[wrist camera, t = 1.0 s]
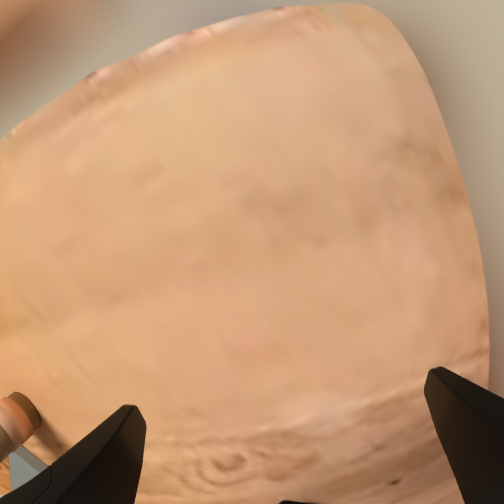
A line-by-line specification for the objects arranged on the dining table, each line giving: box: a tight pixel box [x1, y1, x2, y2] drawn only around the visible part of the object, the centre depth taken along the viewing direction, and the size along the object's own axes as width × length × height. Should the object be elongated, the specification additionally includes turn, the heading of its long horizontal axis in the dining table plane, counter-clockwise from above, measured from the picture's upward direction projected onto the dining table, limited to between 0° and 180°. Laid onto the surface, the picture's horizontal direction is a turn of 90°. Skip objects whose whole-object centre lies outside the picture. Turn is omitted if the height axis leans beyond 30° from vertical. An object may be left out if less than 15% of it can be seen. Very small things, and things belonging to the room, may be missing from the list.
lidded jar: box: [0, 392, 41, 463], centre depth 20 cm, size 5×5×10 cm
